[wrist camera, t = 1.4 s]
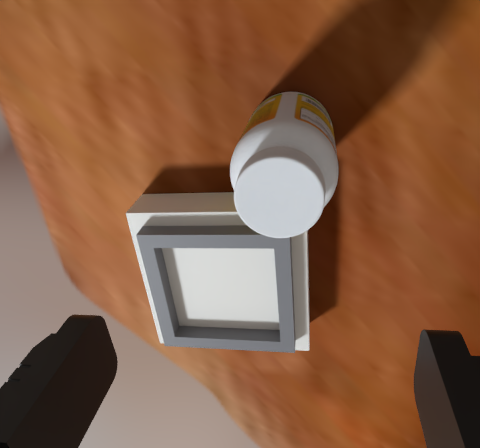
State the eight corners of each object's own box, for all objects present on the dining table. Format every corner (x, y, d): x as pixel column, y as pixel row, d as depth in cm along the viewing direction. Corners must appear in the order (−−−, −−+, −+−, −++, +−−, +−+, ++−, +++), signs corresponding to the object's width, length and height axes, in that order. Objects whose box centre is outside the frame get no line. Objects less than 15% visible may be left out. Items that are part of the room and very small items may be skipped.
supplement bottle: (249, 171, 27) (220, 249, 19) (247, 89, 25) (213, 138, 16) (329, 174, 27) (336, 256, 18) (337, 90, 24) (348, 141, 16)
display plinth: (142, 194, 30) (118, 221, 26) (307, 190, 27) (305, 220, 24) (171, 317, 35) (155, 354, 32) (309, 323, 33) (309, 363, 30)
